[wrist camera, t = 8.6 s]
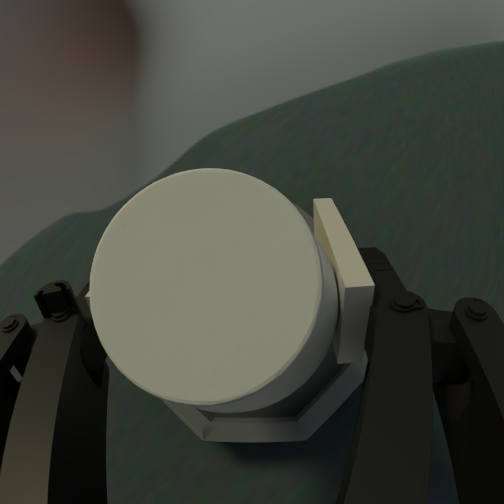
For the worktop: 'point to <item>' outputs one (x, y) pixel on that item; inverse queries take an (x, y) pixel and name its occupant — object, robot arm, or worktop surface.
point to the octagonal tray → (282, 404)
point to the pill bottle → (213, 292)
